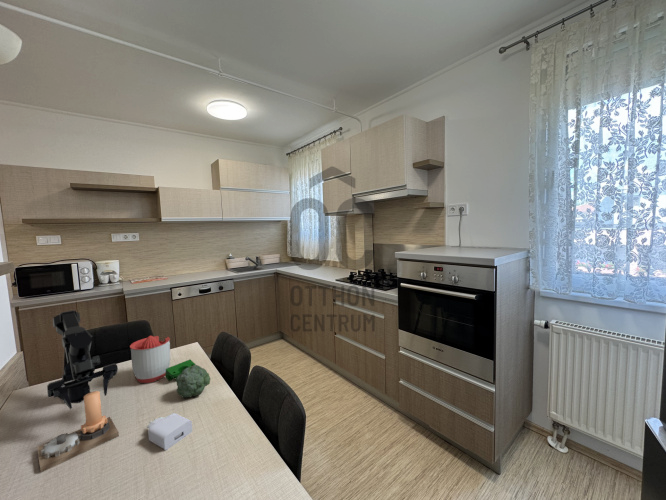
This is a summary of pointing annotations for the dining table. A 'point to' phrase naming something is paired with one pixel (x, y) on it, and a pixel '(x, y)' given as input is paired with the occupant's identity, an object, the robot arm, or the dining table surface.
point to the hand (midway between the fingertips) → (89, 401)
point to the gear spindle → (93, 413)
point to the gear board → (77, 448)
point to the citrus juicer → (150, 358)
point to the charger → (169, 430)
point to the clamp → (177, 369)
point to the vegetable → (192, 381)
